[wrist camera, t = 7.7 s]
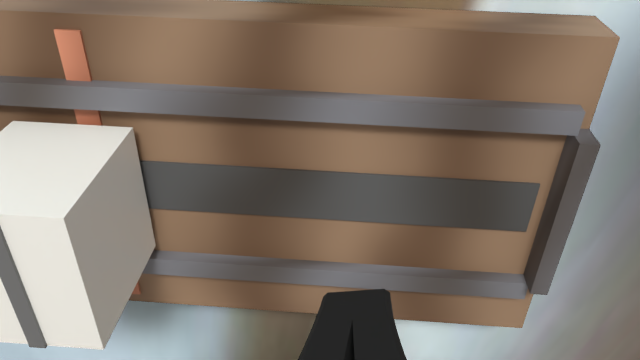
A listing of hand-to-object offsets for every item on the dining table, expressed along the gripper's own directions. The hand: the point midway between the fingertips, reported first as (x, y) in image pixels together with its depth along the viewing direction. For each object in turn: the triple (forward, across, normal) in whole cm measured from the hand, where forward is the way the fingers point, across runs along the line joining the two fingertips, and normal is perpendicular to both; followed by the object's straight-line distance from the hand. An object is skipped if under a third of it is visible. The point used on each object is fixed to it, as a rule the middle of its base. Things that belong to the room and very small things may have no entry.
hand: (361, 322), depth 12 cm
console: (+9, +3, +1) cm, 10 cm away
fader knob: (+7, +10, 0) cm, 12 cm away
